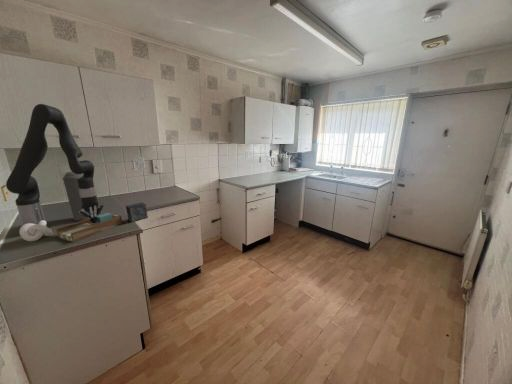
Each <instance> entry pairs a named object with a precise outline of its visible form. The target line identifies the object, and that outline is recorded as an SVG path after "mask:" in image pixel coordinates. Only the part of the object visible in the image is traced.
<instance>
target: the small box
mask: <svg viewBox="0 0 512 384" xmlns="http://www.w3.org/2000/svg"><path fill="white" fill-rule="evenodd" d="M125 209H126V214H127V220H128V221H129V222H130V223H135V222H138V221H141V220H145V219H148V218H149V217H148V211H147V205H146V203H144V202H137V203H133V204H129V205H125Z"/></svg>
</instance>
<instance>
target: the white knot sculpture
mask: <svg viewBox="0 0 512 384" xmlns="http://www.w3.org/2000/svg"><path fill="white" fill-rule="evenodd" d="M46 225H47V221H46V219H45V220H42V221H40V222H39V224H32V223H28V224H25V225H23V224H22V226H21V227H20V228H19V232H18V233H19V235H20V237H21V238H22V239H23V240H25V241H26V242H37V241H39V240H40V239H41V238H42V237H43V236H44V237H50V236H52V235H53V231H52V229H51V228H49V227H48V226H47V227H46ZM28 229H29V231H28ZM28 232H29V233H28Z"/></svg>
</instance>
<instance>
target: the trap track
mask: <svg viewBox="0 0 512 384" xmlns="http://www.w3.org/2000/svg"><path fill="white" fill-rule="evenodd" d="M111 214H112V216H113V218H112V219H109V220H107V221H104V222H101V223H98V222H97V221H96V223H92V222H90V218H89V219H86V220H83V221H76V222H74V223H70V224H68V225H65V226H62V227H59V228H56V229H55V230H56V234H57V238H59V239H62V240H65V241H69V242H72V243H75V242H78V241H80V240H83V239H85V238H88V237H91V236H94V235H96V234H98V233H102V232H103V231H106V230H109V229H112V228H114V227H117V226H119V225H121V224H123V219H122V215H118V214H113V213H111Z"/></svg>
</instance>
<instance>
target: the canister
mask: <svg viewBox="0 0 512 384" xmlns="http://www.w3.org/2000/svg"><path fill="white" fill-rule="evenodd" d="M83 174H84V173H83ZM83 174H75V173H73V172H72V171H68V172H66V173H65V175H64V176H63V177H62V180H63V184H64V187H65V191H66V195H67V199H68V203H69V206H70V209H71V213H72V216H73V220H74V221H76V222H80V221H83V220H86V219H89V218H88V217H85V216H83V215H82V214H80V213H78V211H80V210H81V209H82V203H81V199H80V194H79V187H78V182H77V180H78V179H79V178H81V177H83ZM84 211H85V210H84ZM85 213H86V214H87V212H86V211H85Z"/></svg>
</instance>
